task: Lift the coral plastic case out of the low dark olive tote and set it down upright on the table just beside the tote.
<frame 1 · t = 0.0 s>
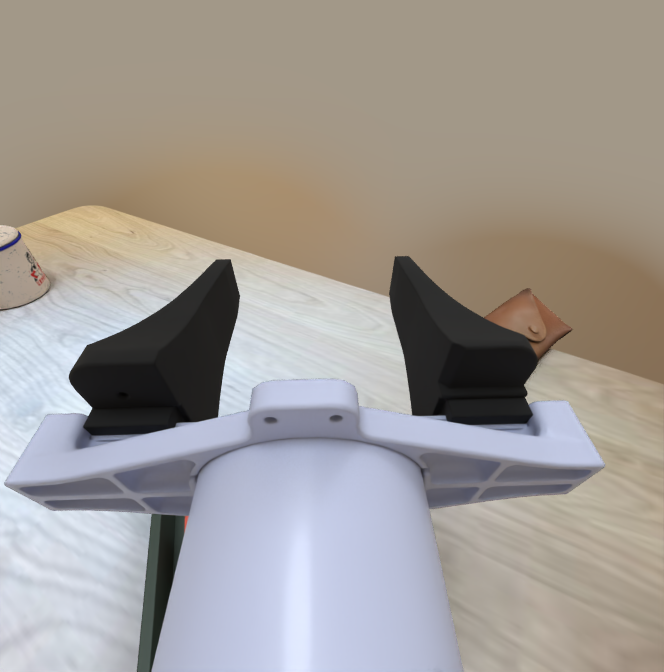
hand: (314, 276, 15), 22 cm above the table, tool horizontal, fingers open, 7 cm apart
tote: (261, 532, 27), on the table
teacup with lid: (16, 291, 53), on the table
sunglasses case: (511, 344, 44), on the table
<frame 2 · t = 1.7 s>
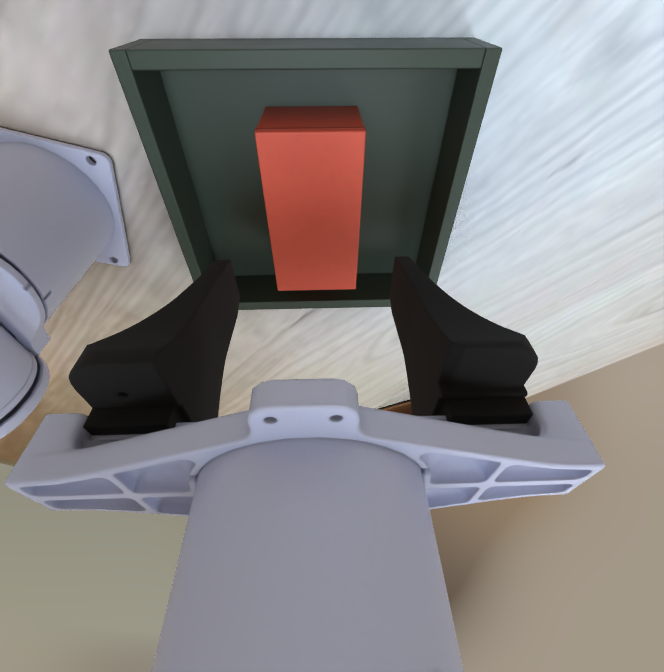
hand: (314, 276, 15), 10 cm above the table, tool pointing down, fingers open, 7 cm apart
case: (314, 189, 21), resting on tote
tote: (314, 186, 22), on the table
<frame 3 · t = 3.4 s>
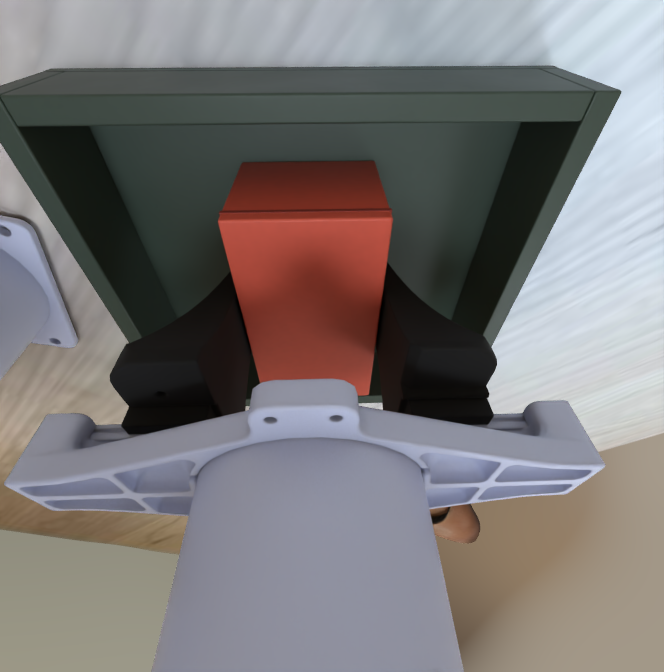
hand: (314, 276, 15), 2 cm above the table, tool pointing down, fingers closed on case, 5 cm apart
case: (313, 262, 16), resting on tote, touching gripper
tote: (314, 256, 16), on the table
sunglasses case: (430, 493, 41), on the table
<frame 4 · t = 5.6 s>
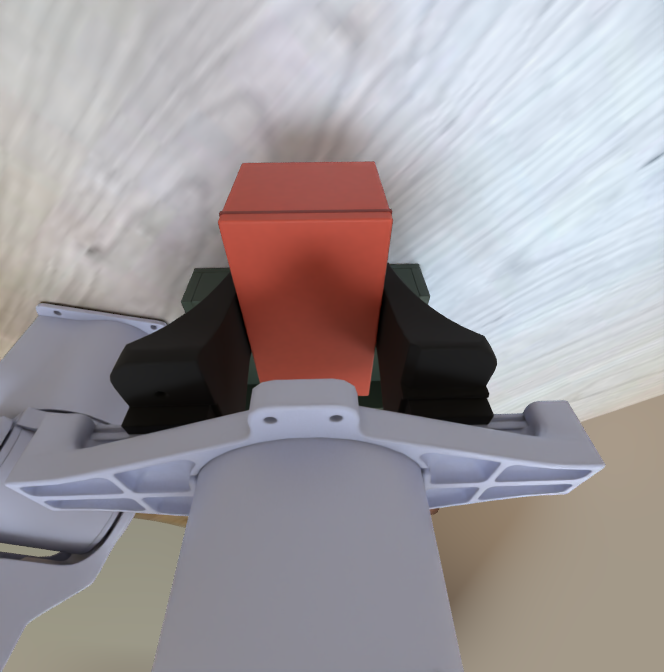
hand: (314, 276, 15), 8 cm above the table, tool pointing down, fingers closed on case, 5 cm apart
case: (313, 263, 16), point 7 cm above the table, touching gripper
tote: (311, 334, 30), on the table
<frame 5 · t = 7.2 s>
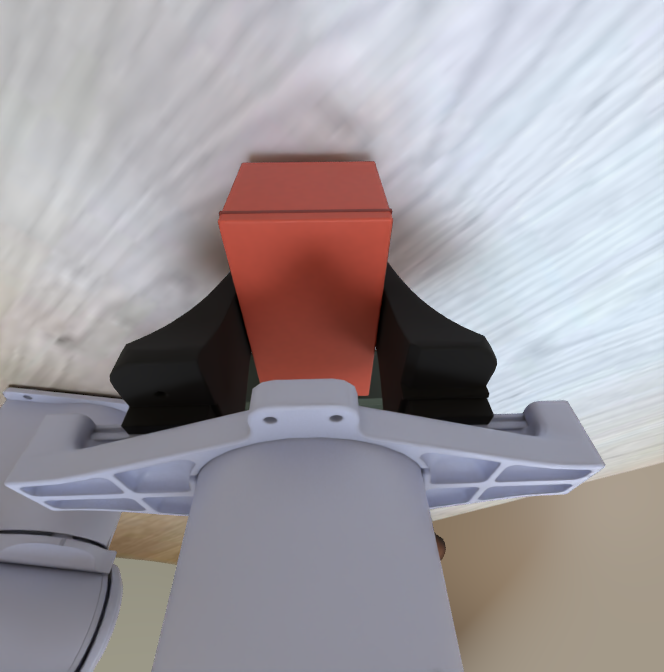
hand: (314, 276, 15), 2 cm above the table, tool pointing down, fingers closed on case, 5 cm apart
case: (313, 263, 16), point 1 cm above the table, touching gripper
tote: (310, 410, 27), on the table
when the fingers open (1 cm above the table, at t = 8.0 s): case stays where it is, on the table.
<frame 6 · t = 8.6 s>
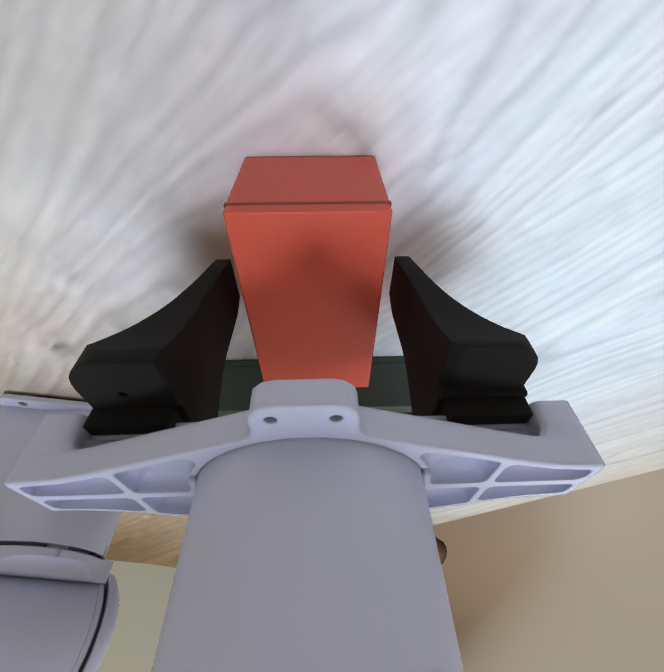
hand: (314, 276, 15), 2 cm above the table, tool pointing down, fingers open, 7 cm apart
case: (314, 256, 16), on the table
tote: (310, 416, 27), on the table
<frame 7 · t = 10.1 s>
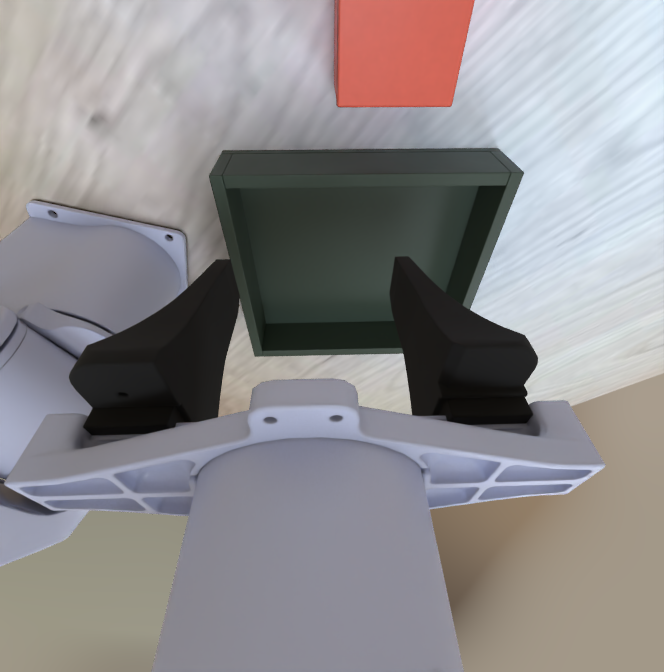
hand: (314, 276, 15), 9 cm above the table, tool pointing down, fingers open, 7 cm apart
tote: (355, 254, 25), on the table
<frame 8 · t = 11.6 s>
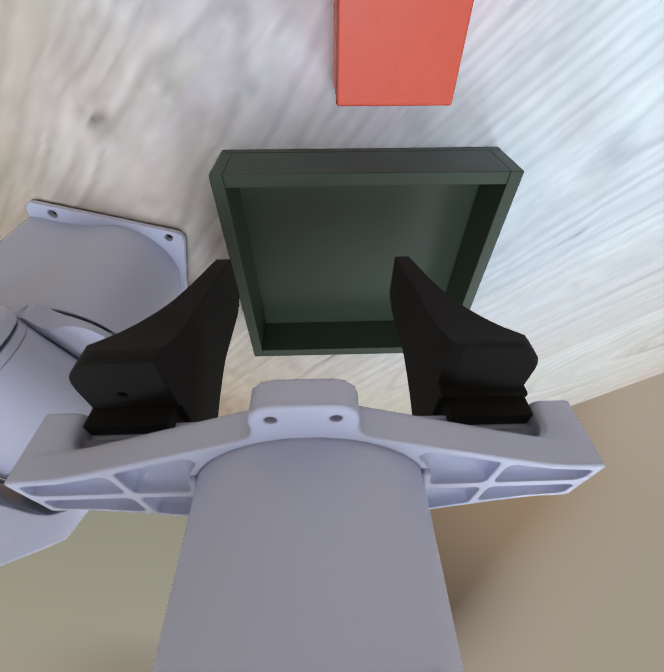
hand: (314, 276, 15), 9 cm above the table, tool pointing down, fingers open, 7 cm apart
tote: (355, 253, 25), on the table
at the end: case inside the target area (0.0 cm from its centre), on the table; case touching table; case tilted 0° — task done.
